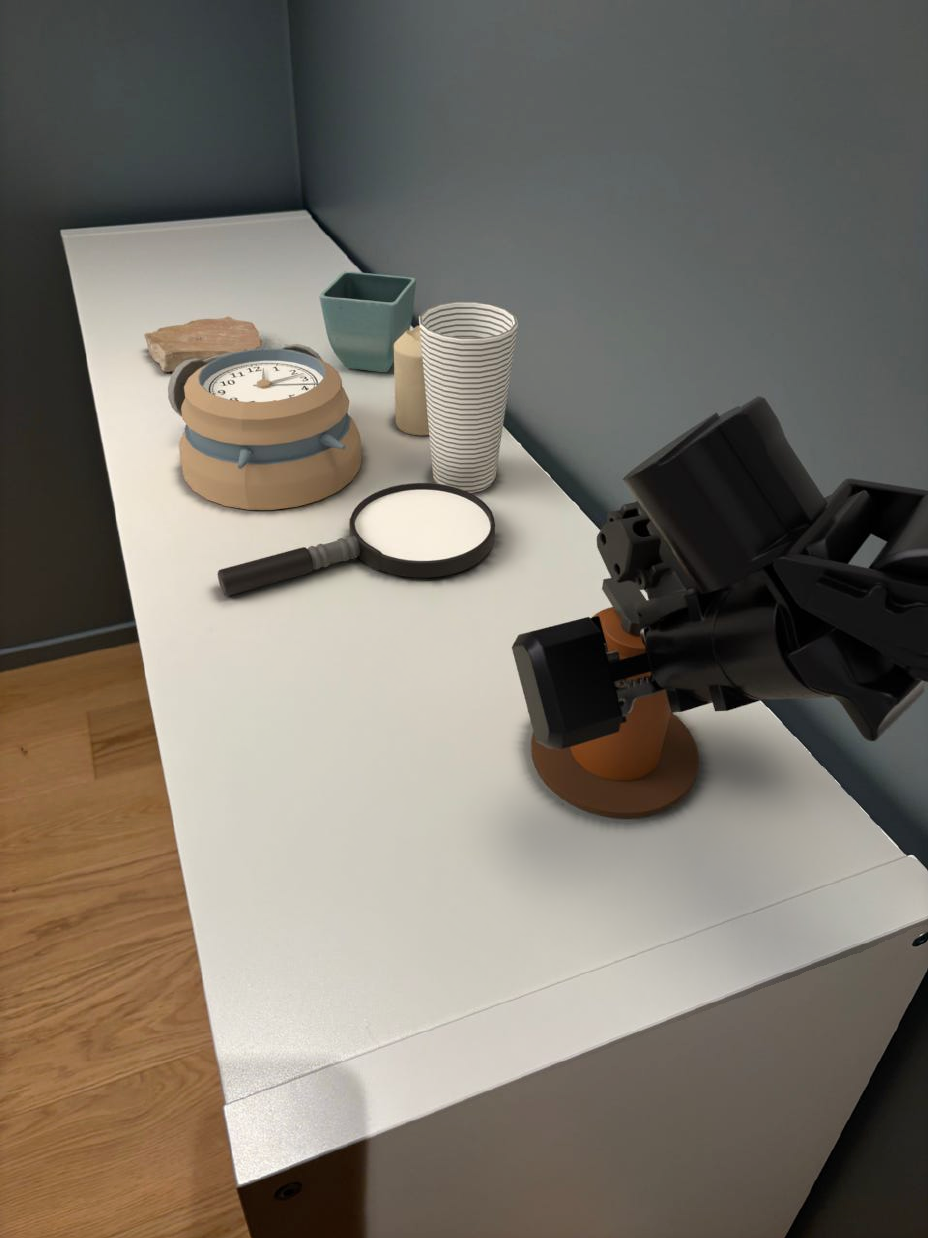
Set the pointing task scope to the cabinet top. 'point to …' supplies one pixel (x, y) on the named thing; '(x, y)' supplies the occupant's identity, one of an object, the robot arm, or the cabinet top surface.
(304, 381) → the alarm clock
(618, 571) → the robot arm
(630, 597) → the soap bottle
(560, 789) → the coaster
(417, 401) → the candle
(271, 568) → the magnifying glass
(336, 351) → the flower pot
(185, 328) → the stone
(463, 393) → the cup
